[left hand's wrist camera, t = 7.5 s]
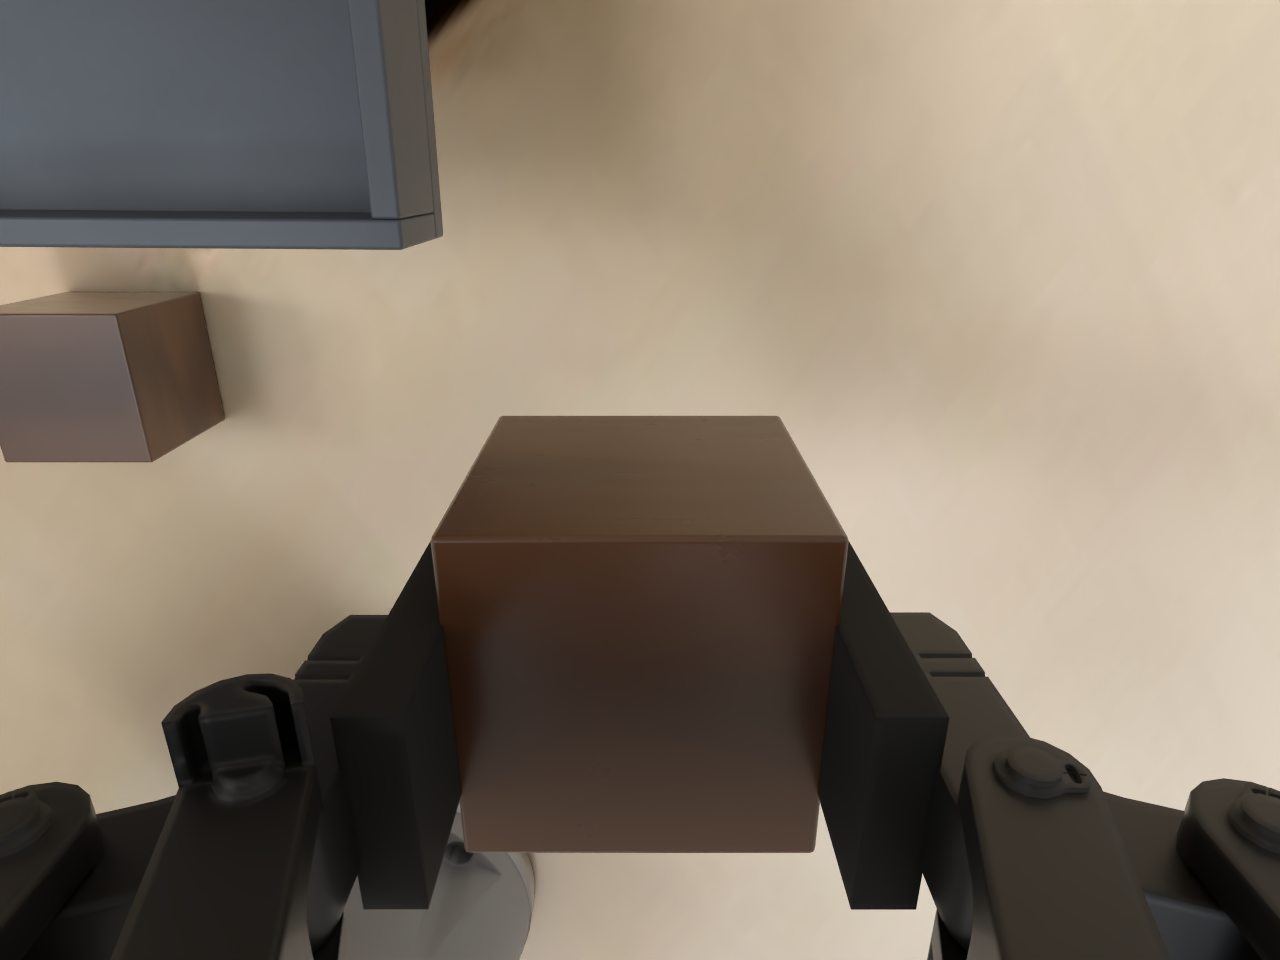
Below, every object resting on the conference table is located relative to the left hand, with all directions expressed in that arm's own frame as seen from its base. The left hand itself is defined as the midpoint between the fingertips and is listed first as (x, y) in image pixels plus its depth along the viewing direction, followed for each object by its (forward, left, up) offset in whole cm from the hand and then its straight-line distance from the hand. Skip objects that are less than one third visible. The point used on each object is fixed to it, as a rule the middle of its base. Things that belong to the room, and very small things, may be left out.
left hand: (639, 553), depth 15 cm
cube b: (0, +19, -17) cm, 25 cm away
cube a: (0, 0, 0) cm, 0 cm away
